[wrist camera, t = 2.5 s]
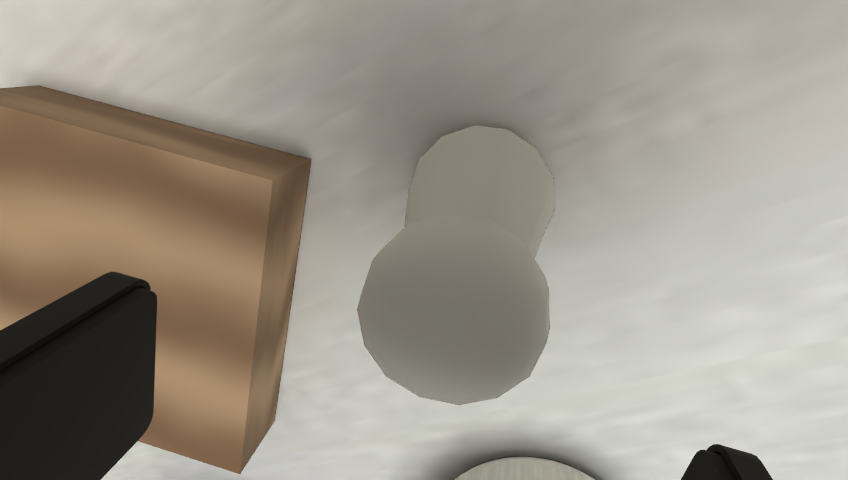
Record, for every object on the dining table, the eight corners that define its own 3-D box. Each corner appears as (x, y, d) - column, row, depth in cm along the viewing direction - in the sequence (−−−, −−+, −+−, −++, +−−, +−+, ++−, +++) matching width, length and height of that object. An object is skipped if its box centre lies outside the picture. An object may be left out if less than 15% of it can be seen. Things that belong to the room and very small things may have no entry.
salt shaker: (574, 207, 22) (645, 399, 10) (463, 265, 24) (409, 484, 12) (508, 90, 21) (498, 147, 9) (396, 160, 23) (260, 286, 11)
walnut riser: (38, 85, 24) (-48, 92, 20) (311, 159, 23) (272, 180, 19) (58, 353, 30) (-5, 394, 27) (274, 420, 29) (240, 474, 26)
